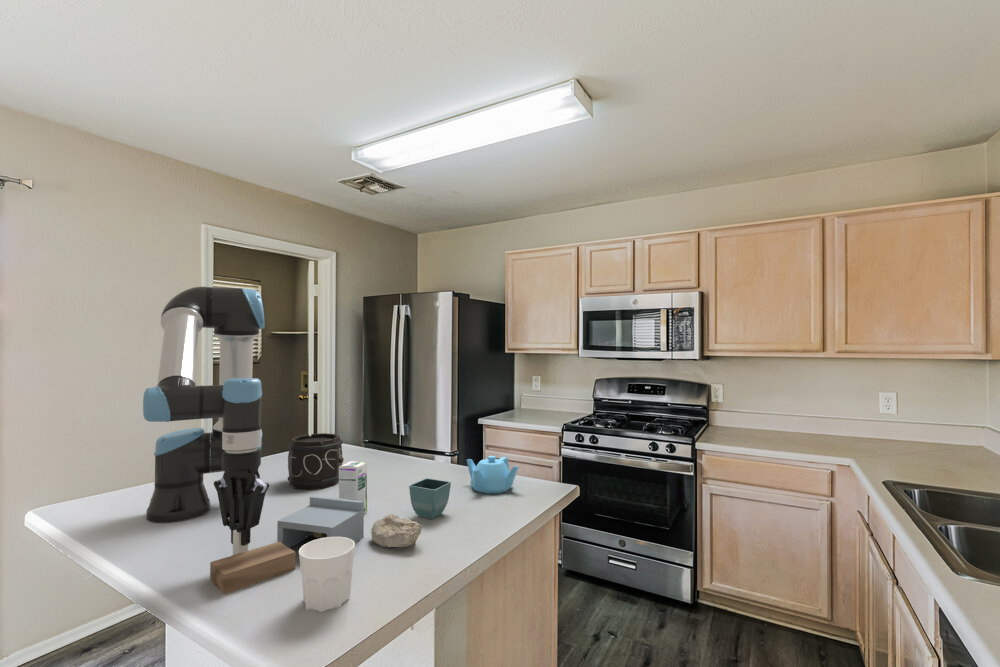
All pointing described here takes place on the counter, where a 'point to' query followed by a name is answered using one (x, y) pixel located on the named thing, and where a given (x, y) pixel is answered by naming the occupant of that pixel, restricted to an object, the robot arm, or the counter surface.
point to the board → (251, 567)
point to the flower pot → (429, 497)
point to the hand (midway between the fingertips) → (240, 559)
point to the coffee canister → (314, 461)
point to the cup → (326, 572)
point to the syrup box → (353, 482)
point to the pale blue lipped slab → (323, 521)
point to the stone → (395, 531)
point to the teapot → (491, 475)
